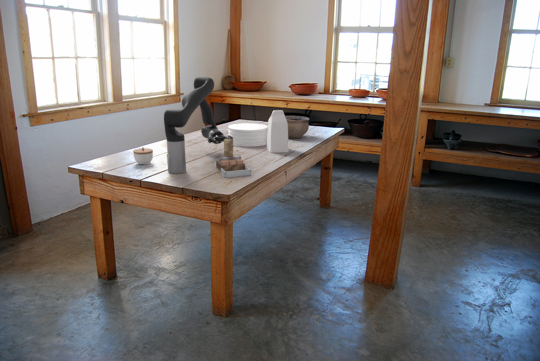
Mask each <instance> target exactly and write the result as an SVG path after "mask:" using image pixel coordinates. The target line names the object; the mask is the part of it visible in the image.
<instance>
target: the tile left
mask: <svg viewBox="0 0 540 361" xmlns="http://www.w3.org/2000/svg"><path fill="white" fill-rule="evenodd" d="M221 165H222V166H226V165H229V161H228V160H222V161H221Z"/></svg>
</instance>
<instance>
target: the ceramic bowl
mask: <svg viewBox="0 0 540 361" xmlns="http://www.w3.org/2000/svg"><path fill="white" fill-rule="evenodd" d="M285 118H286V120H287V123H288V139H297V138H302V137H303V136H305V134H307V132H309V131H308V130H309V128H310V126H309V125H310V124H309V121H310V118H309V117H306V116H300V115H285Z"/></svg>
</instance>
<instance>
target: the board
mask: <svg viewBox="0 0 540 361" xmlns="http://www.w3.org/2000/svg"><path fill="white" fill-rule="evenodd" d="M245 166H246V164H245V162H243V164H236V165H226V166H222V165H221V164H220V163H219V160H215V168H216V170H218V171H219V172H220V173H221V168H222V169H223V170H224V171H225V172H228V171H238V170H245Z"/></svg>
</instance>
